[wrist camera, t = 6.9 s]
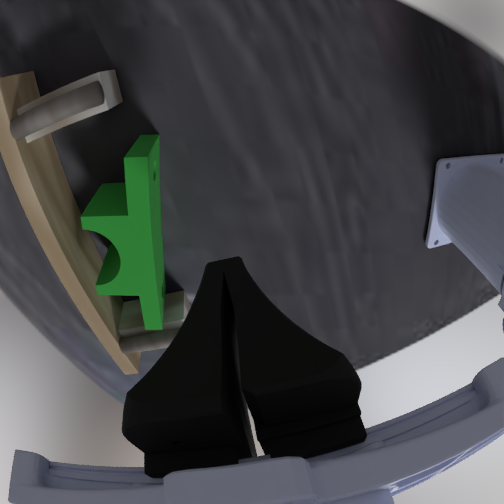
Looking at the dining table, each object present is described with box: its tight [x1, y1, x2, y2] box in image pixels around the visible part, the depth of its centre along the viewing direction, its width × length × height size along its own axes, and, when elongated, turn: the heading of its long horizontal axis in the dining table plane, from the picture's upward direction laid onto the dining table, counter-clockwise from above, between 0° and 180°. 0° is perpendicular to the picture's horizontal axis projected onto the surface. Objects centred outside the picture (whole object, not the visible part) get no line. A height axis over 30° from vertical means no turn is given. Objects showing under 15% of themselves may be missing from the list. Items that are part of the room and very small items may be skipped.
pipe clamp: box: [81, 135, 166, 330], centre depth 18 cm, size 11×4×5 cm, turn 174°
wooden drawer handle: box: [0, 69, 191, 375], centre depth 17 cm, size 6×22×4 cm, turn 8°
